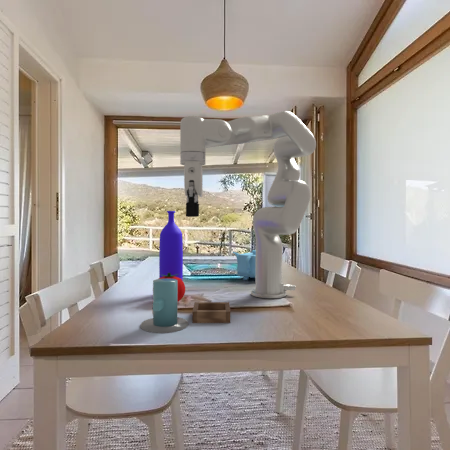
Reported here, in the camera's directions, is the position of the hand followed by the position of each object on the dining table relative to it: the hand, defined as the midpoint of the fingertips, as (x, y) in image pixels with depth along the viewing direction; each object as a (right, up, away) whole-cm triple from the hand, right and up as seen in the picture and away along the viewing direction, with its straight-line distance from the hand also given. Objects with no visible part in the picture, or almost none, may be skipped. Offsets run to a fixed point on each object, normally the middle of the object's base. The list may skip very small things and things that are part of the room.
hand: (192, 216), depth 111 cm
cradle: (+6, -29, -9) cm, 31 cm away
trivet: (-6, -29, -16) cm, 34 cm away
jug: (-6, -28, -18) cm, 34 cm away
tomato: (-8, -28, +8) cm, 30 cm away
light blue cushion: (+21, -27, +54) cm, 64 cm away
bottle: (-10, -28, +21) cm, 36 cm away
